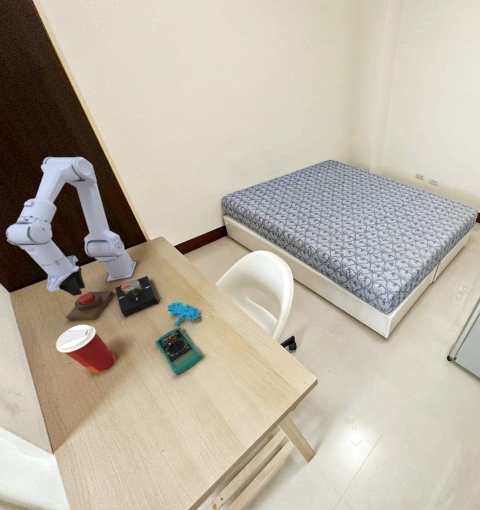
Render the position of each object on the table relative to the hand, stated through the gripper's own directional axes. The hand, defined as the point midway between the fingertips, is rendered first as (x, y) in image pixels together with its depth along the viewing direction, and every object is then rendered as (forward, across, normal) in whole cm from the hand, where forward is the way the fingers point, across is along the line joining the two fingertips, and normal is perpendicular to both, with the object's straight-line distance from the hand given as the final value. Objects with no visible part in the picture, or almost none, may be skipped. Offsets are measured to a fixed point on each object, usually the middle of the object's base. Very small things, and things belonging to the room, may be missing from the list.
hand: (79, 291), depth 85 cm
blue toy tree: (+8, -15, -30) cm, 35 cm away
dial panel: (+8, 0, -14) cm, 16 cm away
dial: (+5, 0, -13) cm, 14 cm away
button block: (+8, 0, 0) cm, 8 cm away
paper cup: (+8, -25, -10) cm, 28 cm away
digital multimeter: (+8, -28, -30) cm, 42 cm away
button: (+5, 0, 0) cm, 5 cm away
